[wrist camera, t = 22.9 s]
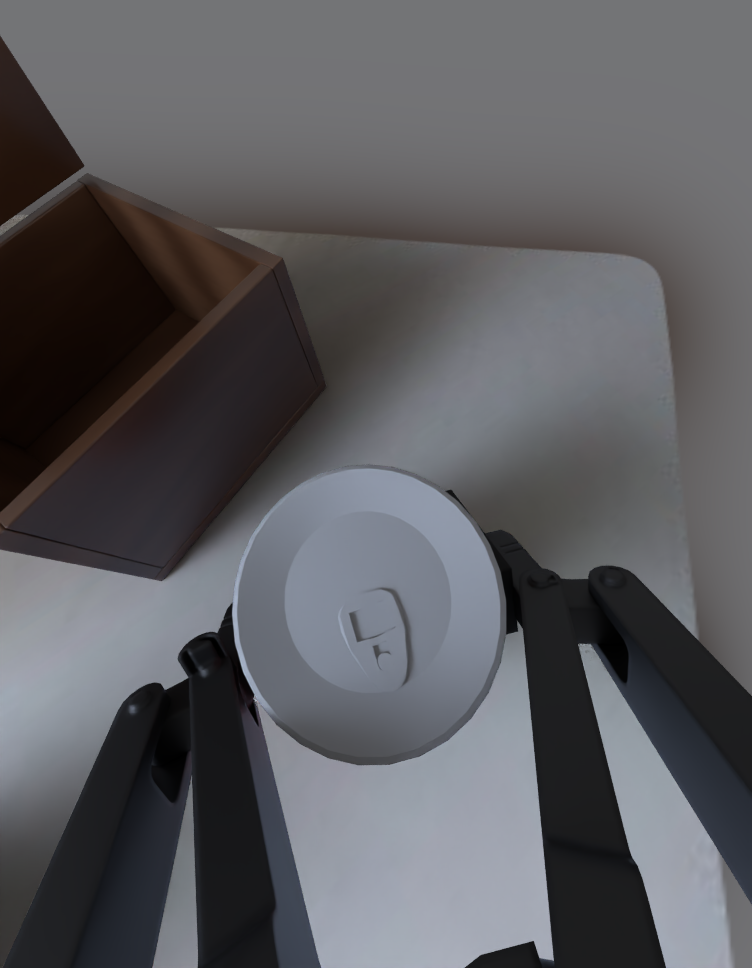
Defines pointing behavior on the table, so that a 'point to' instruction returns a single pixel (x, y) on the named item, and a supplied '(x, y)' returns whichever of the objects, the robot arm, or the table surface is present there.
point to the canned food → (369, 615)
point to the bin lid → (28, 142)
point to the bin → (137, 377)
